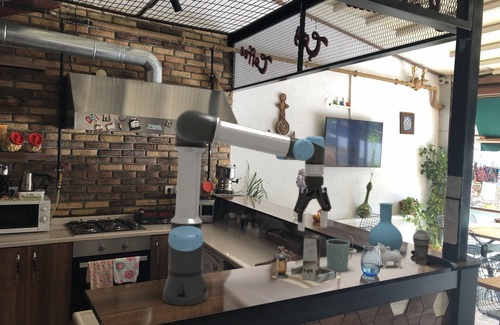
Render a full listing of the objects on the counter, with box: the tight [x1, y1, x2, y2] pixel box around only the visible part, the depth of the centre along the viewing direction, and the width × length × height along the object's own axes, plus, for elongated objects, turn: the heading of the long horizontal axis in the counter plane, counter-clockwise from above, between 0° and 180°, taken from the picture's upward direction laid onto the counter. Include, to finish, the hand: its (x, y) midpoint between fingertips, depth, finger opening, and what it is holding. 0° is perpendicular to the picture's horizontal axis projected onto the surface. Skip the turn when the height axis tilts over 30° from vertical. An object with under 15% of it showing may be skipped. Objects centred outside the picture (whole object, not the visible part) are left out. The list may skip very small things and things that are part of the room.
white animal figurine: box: [375, 243, 403, 270], centre depth 173 cm, size 5×13×11 cm, turn 95°
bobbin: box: [274, 252, 289, 279], centre depth 154 cm, size 5×5×9 cm
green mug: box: [325, 238, 351, 273], centre depth 169 cm, size 10×10×12 cm
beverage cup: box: [412, 219, 431, 266], centre depth 179 cm, size 7×7×20 cm
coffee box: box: [302, 233, 321, 280], centre depth 154 cm, size 9×6×16 cm
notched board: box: [271, 264, 343, 289], centre depth 155 cm, size 22×18×4 cm
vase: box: [368, 202, 403, 251], centre depth 200 cm, size 16×16×25 cm
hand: (312, 228), depth 155 cm, fingers open, 13 cm apart
